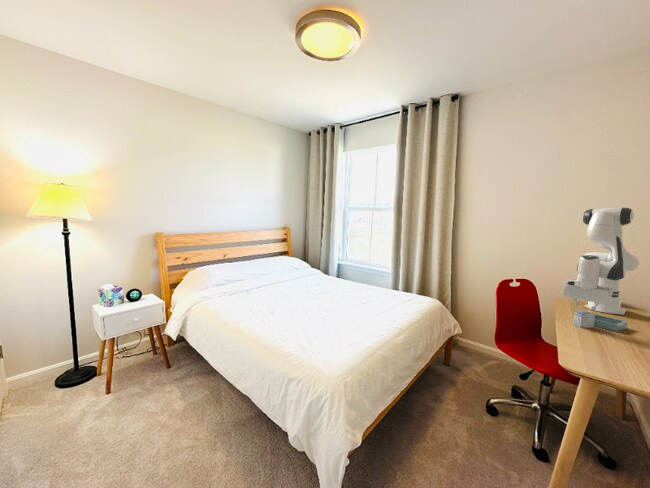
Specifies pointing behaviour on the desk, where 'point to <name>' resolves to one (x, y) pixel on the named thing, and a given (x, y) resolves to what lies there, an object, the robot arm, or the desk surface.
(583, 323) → the medicine box
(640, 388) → the desk surface
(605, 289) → the robot arm
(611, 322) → the tray
